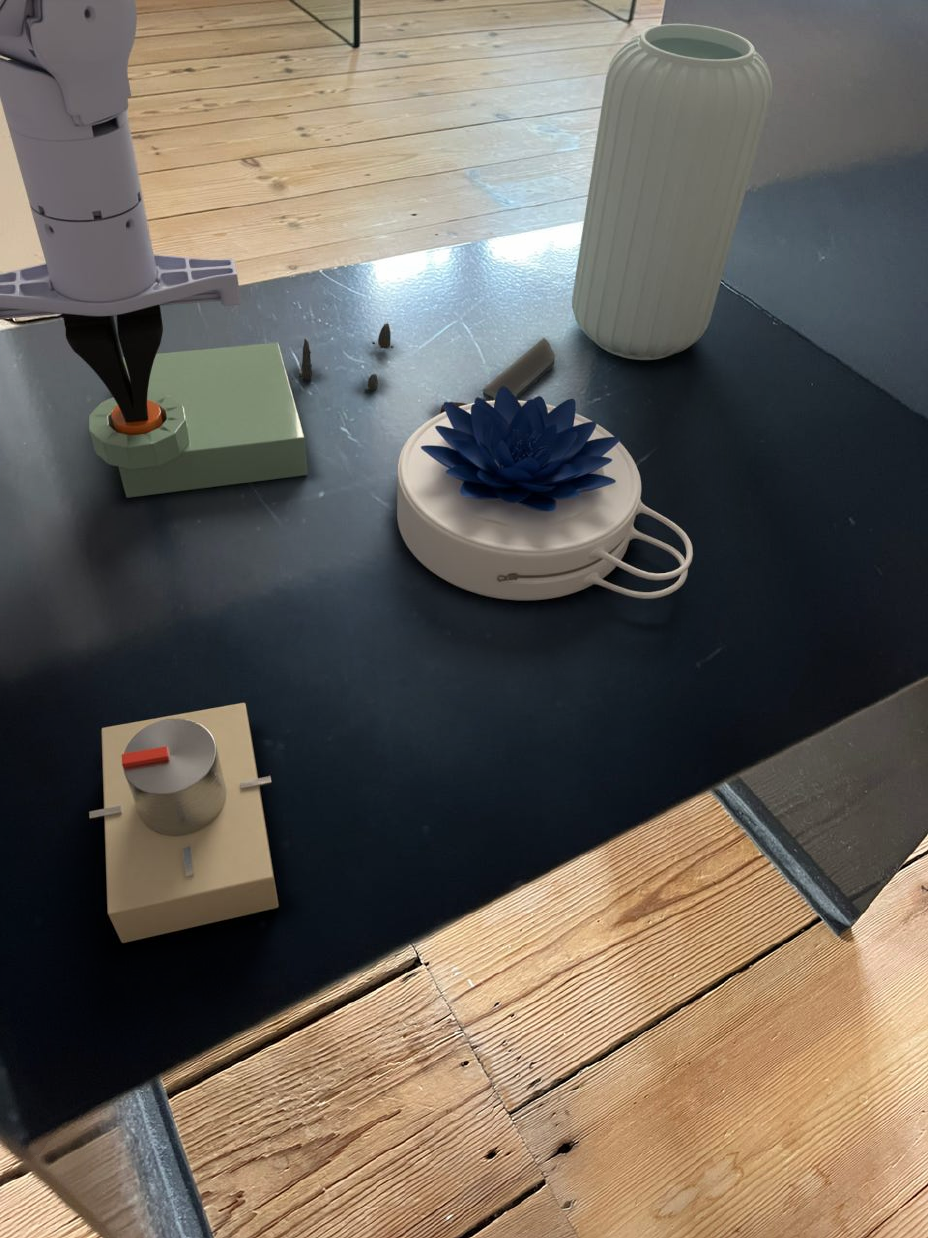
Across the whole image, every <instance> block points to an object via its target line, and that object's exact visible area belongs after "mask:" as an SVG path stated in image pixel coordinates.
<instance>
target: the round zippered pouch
mask: <svg viewBox="0 0 928 1238" xmlns="http://www.w3.org/2000/svg"><path fill="white" fill-rule="evenodd" d="M449 402H450V401H443V405H444V409H445V411H446V412H443V413H441V414H440V413H439V414H437V415H435V416H434V417H432V418H431V419H429V420H427V421H425V422H424V423H423V424H422V425H421V426H420V427H418V428H417V429H416V430H415V431H414V432H413V433H412V434H411V435H410V436H409V438H407V440H406V441H405V443H404V445H403V446H402V449H401V451H400V454H399V457H398V462H397V487H396V488H397V491H396V493H397V496H396V497H397V500H396V519H397V520H396V521H397V525H398V530H399V532H400V535H401V537H402V540H403V541H404V543H405V545H406V547H407V548H408V550H409V551H410V552H411V554H412V555H413V556H414V557H415V558H416V559H417V560H418V561H419V563H421V565H422V566H424V567H425V568H426V569H428V570H429V571H430V572H431V573H433V574H435V576H438V577H439V578H441V579H442V580H444V581H446V582H448V583H450V584H451V585H453V586H455V587H457V588H460V589H462V590H464V591H468V592H471V593H474V594H477V595H480V596H484V597H489V598H494V599H498V600H499V599H500V600H506V601H507V600H509V601H526V602H527V601H542V600H549V599H550V600H551V599H556V598H562V597H564V596H565V597H566V596H568V595H572V594H576V593H577V592H580V591H583V590H585V589H587V588H589V587H591V586H593V585H598V586H601V587H603V588H605V589H608V590H611V591H613V592H615V593H619V594H621V595H624V596H627V597H631V598H636V599H642V600H653V599H658V598H662V597H665V596H668V595H671V594H673V593H674V592H676V591H677V590H679V589H680V588H681V587H682V586H683V585H684V584H685V582H686V580H687V577H688V572H689V571H688V570H689V567H690V565H691V564H692V561H693V556H694V551H693V544H692V541H691V540H690V538H689V535H688V534H687V533H686V532H685V531H684V530H683V529H682V528H681V527H680V526H679V525H677V524H676V523H675V522H674V521H671V520H670V519H669V518H667V517H665V516H663V515H662V514H660V513H658V512H657V511H655V510H653V509H651V508H650V507H648V506H646V505H645V504H644V503H643V502H642V499H641V497H642V479H641V475H640V472H639V470H638V467H637V464H636V462H635V460H634V458H633V457H632V455H631V454H630V453H629V451H628V449H626V448H625V446H624V445H623V444H622V443H621V442H620V441H621V437H619V436H614V434H612V433H611V432H609V431H608V430H606V429H605V428H604V427H603V426H601V425H599V424H598V423H597V422H596V421H593V420H590V419H589V418H586V417H584V416H582V415H580V414H578V413H576V412H577V411H576V410H577V403H576V402H577V401H576V400H575V399H574V398H567V399H566V400H564V401H562V402H561V403H560V404H558V405H557V406H554V405H551V404H547V403H546V402H545V399H544V398H543V396H541V395H537V396H535V397H534V398H533V399H532V398H529V400H519V399H518V398H517V399H516V397H515V396H514V395H513V394H512V392H511V391H510V390H509V389H508V388H507V387H505V386H502V387H500V388H499V390H498V393H497V395H496V399H495V400H494V401H492V400H484V398H481V397H478V396H477V397H475V399H474V402H471V403H466V404H467V405H463V406H460V407H458V406H456V405H454V404H451V403H449ZM639 514H645V515H648V516H649V517H652V518H654V519H656V520H658V521H659V522H661V523H663V524H664V525H665V526H667V527H669V528H670V529H671V530H672V531H674V532H675V534H677V535H678V537H680V539H681V540H682V542H683V543H684V547H685V554H686V555H685V557H684V555H683V554H681V552H680V551H679V550H677V549H676V548H675V547H673V546H671V545H670V544H667V543H666V542H663V541H661V540H660V539H659V540H658V539H657V538H654V537H653V536H650V535H647V534H645V533H642V532H641V531H639V530H637V529H636V528H635V526H634V523H635V520H636V516H637V515H639ZM634 539H635V540H640V541H643V542H646V543H648V544H651V545H654V546H655V547H657V548H659V549H662V550H664V551H666V552H667V553H668V554H670V555H672V556H673V557H674V558H675V559H676V560H677V561H678V563H679V565H680V566H679V567H678V568H677V569H674V570H671V571H668V572H665V573H656V572H655V573H654V572H648V571H644V570H642V569H638V568H636V567H634V566H632V565H630V564H628V563H626V562H624V561H622V560H623V558H624V555H625V554H626V552H627V550H628V547H629V544H630V541H632V540H634ZM616 567H618V568H620V569H621V570H623V571H626V572H627V573H629V574H632V575H633V576H636V577H639V578H642V579H646V580H648V581H649V580H650V581H665V580H666V581H667V580H670V579H674V578H676V577H678V576H679V578H678V580H677V581H676V582H674V584H672V585H671V586H669V587H667V588H664V589H661V590H656V591H651V592H650V591H649V592H647V591H646V592H644V591H636V590H631V589H628V588H625V587H622V586H619V585H616V584H613V583H611V582H608V581H606V580H604V578H606V577H607V576H608V575H610V573H611V572H612V571H614V570H615V569H616Z"/></svg>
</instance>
